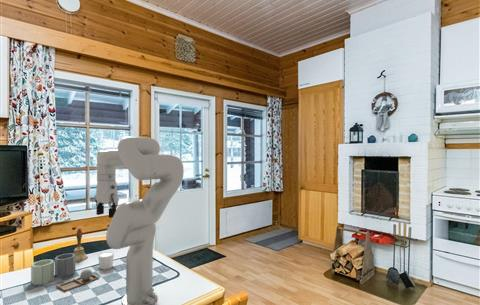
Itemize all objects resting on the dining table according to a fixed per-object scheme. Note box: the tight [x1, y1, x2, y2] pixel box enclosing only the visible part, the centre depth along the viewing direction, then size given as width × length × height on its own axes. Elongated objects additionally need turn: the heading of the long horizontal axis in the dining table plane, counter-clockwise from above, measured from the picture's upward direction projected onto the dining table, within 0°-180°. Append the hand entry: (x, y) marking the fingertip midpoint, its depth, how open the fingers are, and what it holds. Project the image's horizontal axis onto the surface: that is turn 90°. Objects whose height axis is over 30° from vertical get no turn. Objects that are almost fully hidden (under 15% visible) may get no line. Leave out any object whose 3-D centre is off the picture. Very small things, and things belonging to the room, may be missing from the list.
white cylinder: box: [98, 251, 114, 270], centre depth 134 cm, size 7×7×7 cm
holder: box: [56, 273, 100, 293], centre depth 118 cm, size 7×14×2 cm, turn 146°
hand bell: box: [73, 228, 89, 263], centre depth 147 cm, size 8×8×16 cm
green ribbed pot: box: [30, 259, 55, 286], centre depth 120 cm, size 8×8×9 cm
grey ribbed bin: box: [54, 252, 76, 278], centre depth 127 cm, size 8×8×9 cm
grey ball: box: [80, 268, 93, 280], centre depth 121 cm, size 4×4×4 cm
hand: (106, 215), depth 124 cm, fingers open, 9 cm apart
